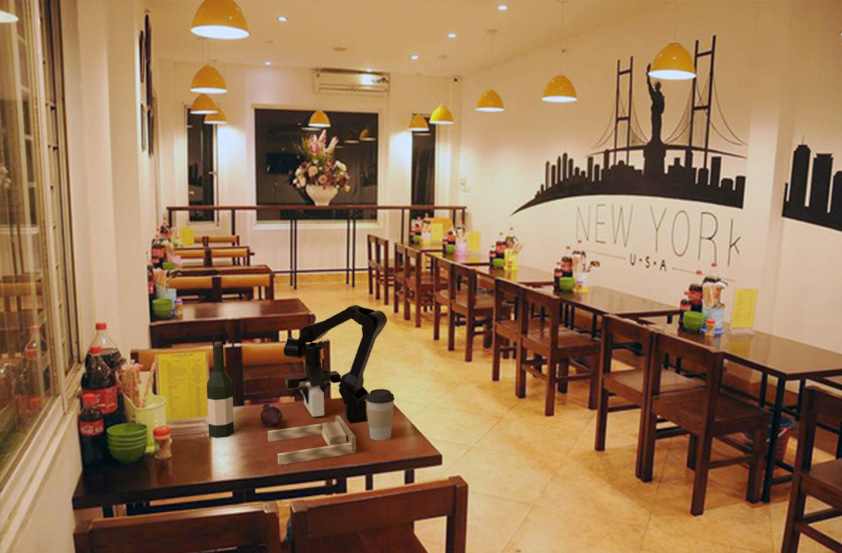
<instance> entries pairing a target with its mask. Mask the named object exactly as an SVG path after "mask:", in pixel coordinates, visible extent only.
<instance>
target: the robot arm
mask: <svg viewBox="0 0 842 553" xmlns="http://www.w3.org/2000/svg"><path fill="white" fill-rule="evenodd" d="M350 320H353V321H354V322H355V323H356V324H358V325H360V326H361V334H362V335H361V336H362V337H361V339H360V342H359V345H358V348H357V349H356V350H357V351H356V353H355V356H354V359H353V362H352V364H351V367H350V370H349V371H348V372H346V373H345V374H343V375H341V374H340V373H339V372H338V371H337V370H329V369H328V370H326V369H325V370H323V366H322V365H323V364H322V350H323V349H325V348H327V344H326V343H324V342H323V341H322V340H320V339H322V338H323V337H324V336H326V335H327V334H328V333H329V331H331V330H333V329H335V328H336V327H338V326H340V325H342V324H344V323H346V322H348V321H350ZM387 323H388V318H387V315H386V314H385V312H384V311H382V310H375V309H371V308H367V307H364V306H361V305H358V304H353V305H350V306H348V307H347V308H345V309H344V310H342V311H339V312H338V313H336V314H334V315H332V316H330V317H328V318H326V319H325V320H322V321H318V322H315V323H312V324H311V323H310V324H309V325H306V326H303V328H302V329H301V332H300V336H299V337H298V338H294V337H287V339H286V343H285V344H284V347H283V355H284V356H285V357H286V358H287V357H288V358H293V359H302V358H304V377H298V375H297V374H293V375H286V377H285V378H284V381H285V382H284V383H285V385H286V387H287V389H299V390H301V391H302V394H303V398H304V397H305V399H306V402H307V404H308V402H309V399H308V391H307V388H308V387H307V386H306V383H307V382H310V385H311V386H312V387H315V386H319V387H320V389H321V390H322V391H323V393H324V394H325V391H326V389H327V387H328V388H329V387H330V386H331V383H332V384H338V383H339V384H338V385H337V387H338V393H339V394H340V396H341V398H342V399H341V400H342V402H343V405H345V406H344V418H345V419H346V421H347V422H348V423H349V424H352V423H353V424H354V423H361V422H368V417H367V400H366V398H367V395H368V394H369V393H370V392H368V390H367V389H366V388H365V387H364V382H365V381H364V374H365V373H364V372H365V370H366V367H367V365H368V361H369V359H370V356H371V353H372V351H373V347H374V345H375V342H376V339H377V338H378V336H380V334H381V333H382V331H383V330H384V328H385V327H386V325H387ZM317 340H320V341H318V342H315V341H317Z"/></svg>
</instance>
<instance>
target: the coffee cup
mask: <svg viewBox="0 0 842 553" xmlns="http://www.w3.org/2000/svg"><path fill="white" fill-rule="evenodd" d="M368 393H369V394H368V395H367V398H366V400H365V401H366V416H367V419H368V420H367V422H368V423H367V425H368V432H369V437H370V439H372V440H374V441H385V440H388V439H390V438H391V437H392V427H393V418H394V408H395V404H394V402H395V395H394V394H393V393H392V391H391V390H390V389H385V388H376V389H372V390H371V391H369V392H368Z"/></svg>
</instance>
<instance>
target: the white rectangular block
mask: <svg viewBox="0 0 842 553" xmlns="http://www.w3.org/2000/svg"><path fill="white" fill-rule="evenodd" d="M306 386H307V387H308V388H307V391H308V399H309V402H308V404H307V402H306V399H305V397H304V396H303V404H304V406H305V407H306V409H307V410H308V413H310V415H311V416H312V417H322V416H325V392H324V393H323V391H322V390H321V389H320V387H319V386H315V387H312V386H311V385H310V382H307V383H306Z"/></svg>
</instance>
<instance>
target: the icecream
mask: <svg viewBox="0 0 842 553" xmlns="http://www.w3.org/2000/svg"><path fill="white" fill-rule="evenodd" d="M262 408H263V409H262V410H261V413H260V421H261V424H262V425H263V426H265V427H267V428H272V427H276V426H278V425H279V423H280V422H281V421H282V418H283V414H282V411H281V409H279V407H276V406H274V405H273V406H270V404H268V403H264V404H263V406H262Z"/></svg>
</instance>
